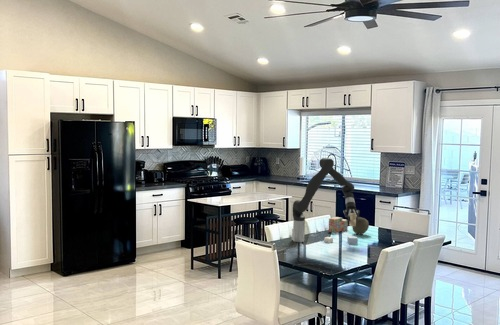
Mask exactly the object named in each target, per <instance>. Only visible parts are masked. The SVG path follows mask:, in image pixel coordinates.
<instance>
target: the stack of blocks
mask: <svg viewBox="0 0 500 325" xmlns="http://www.w3.org/2000/svg"><path fill="white" fill-rule="evenodd" d="M348 228H349V221H348V219H344V218H343V217H339V216H334V217H329V218H328V232H329V233H339V232H343V231H347V230H348Z"/></svg>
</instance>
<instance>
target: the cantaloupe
mask: <svg viewBox="0 0 500 325" xmlns="http://www.w3.org/2000/svg"><path fill="white" fill-rule="evenodd" d="M351 227H352V231H353V233H355V234H357V235H363V234H365V233H366V232H367V231H369V227H370V224H369V220H367V219H366V218H365V217H361V216H359V217H357V222H356V226H351Z"/></svg>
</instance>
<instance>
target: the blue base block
mask: <svg viewBox="0 0 500 325" xmlns="http://www.w3.org/2000/svg"><path fill="white" fill-rule="evenodd" d="M358 241H359V238H358V237H357V235H356V236H351V235H348V236H347V242H346V243H348V244H349V245H358Z"/></svg>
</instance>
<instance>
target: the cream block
mask: <svg viewBox="0 0 500 325" xmlns="http://www.w3.org/2000/svg"><path fill="white" fill-rule="evenodd" d="M323 238H324V239H323V241H324V243H328V244H330V243H334V237H330V236H326V237H323Z"/></svg>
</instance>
